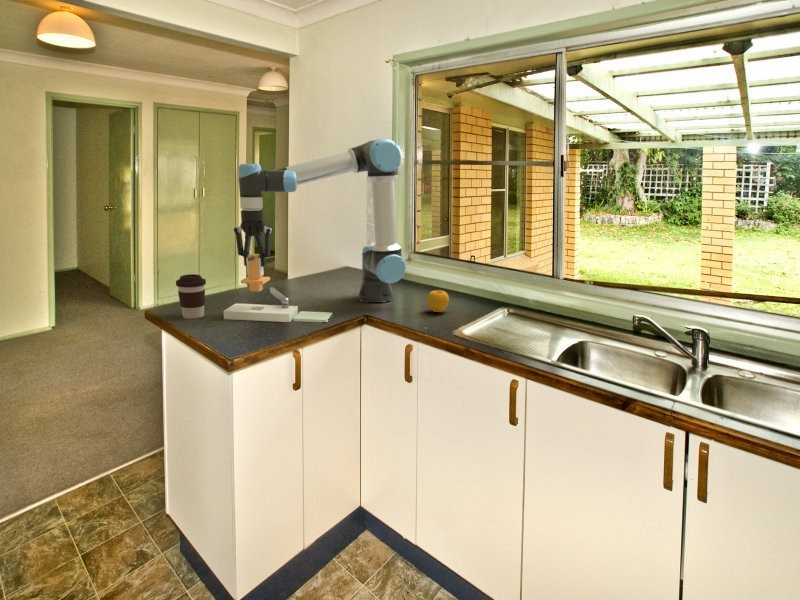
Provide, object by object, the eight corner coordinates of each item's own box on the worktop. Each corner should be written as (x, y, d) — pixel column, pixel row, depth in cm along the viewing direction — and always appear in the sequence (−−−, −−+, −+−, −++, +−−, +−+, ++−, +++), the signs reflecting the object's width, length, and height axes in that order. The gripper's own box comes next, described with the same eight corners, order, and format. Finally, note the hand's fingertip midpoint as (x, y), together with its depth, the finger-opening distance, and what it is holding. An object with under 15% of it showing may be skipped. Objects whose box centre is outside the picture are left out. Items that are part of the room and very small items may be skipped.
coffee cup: (184, 312, 187) (180, 273, 183) (211, 312, 188) (208, 273, 184) (174, 320, 177) (171, 278, 174) (203, 320, 178) (200, 278, 174)
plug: (270, 288, 186) (269, 253, 183) (262, 294, 177) (260, 257, 174) (249, 287, 187) (247, 252, 184) (239, 293, 178) (237, 257, 174)
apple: (442, 316, 191) (443, 293, 189) (422, 312, 196) (423, 290, 194) (451, 311, 198) (453, 289, 196) (433, 308, 203) (434, 287, 201)
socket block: (297, 313, 189) (297, 302, 188) (289, 322, 179) (289, 310, 178) (235, 311, 191) (235, 300, 190) (224, 319, 180) (223, 307, 179)
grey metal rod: (289, 303, 185) (289, 298, 185) (282, 304, 184) (282, 299, 184) (274, 291, 203) (274, 287, 203) (268, 292, 202) (268, 287, 201)
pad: (332, 315, 189) (332, 312, 189) (326, 322, 179) (326, 320, 179) (300, 313, 190) (300, 311, 189) (293, 321, 180) (293, 318, 180)
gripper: (278, 209, 178) (281, 273, 184) (232, 208, 180) (237, 272, 185) (271, 210, 171) (274, 278, 177) (224, 209, 172) (228, 276, 178)
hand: (255, 275), depth 181 cm, fingers closed on plug, 4 cm apart
